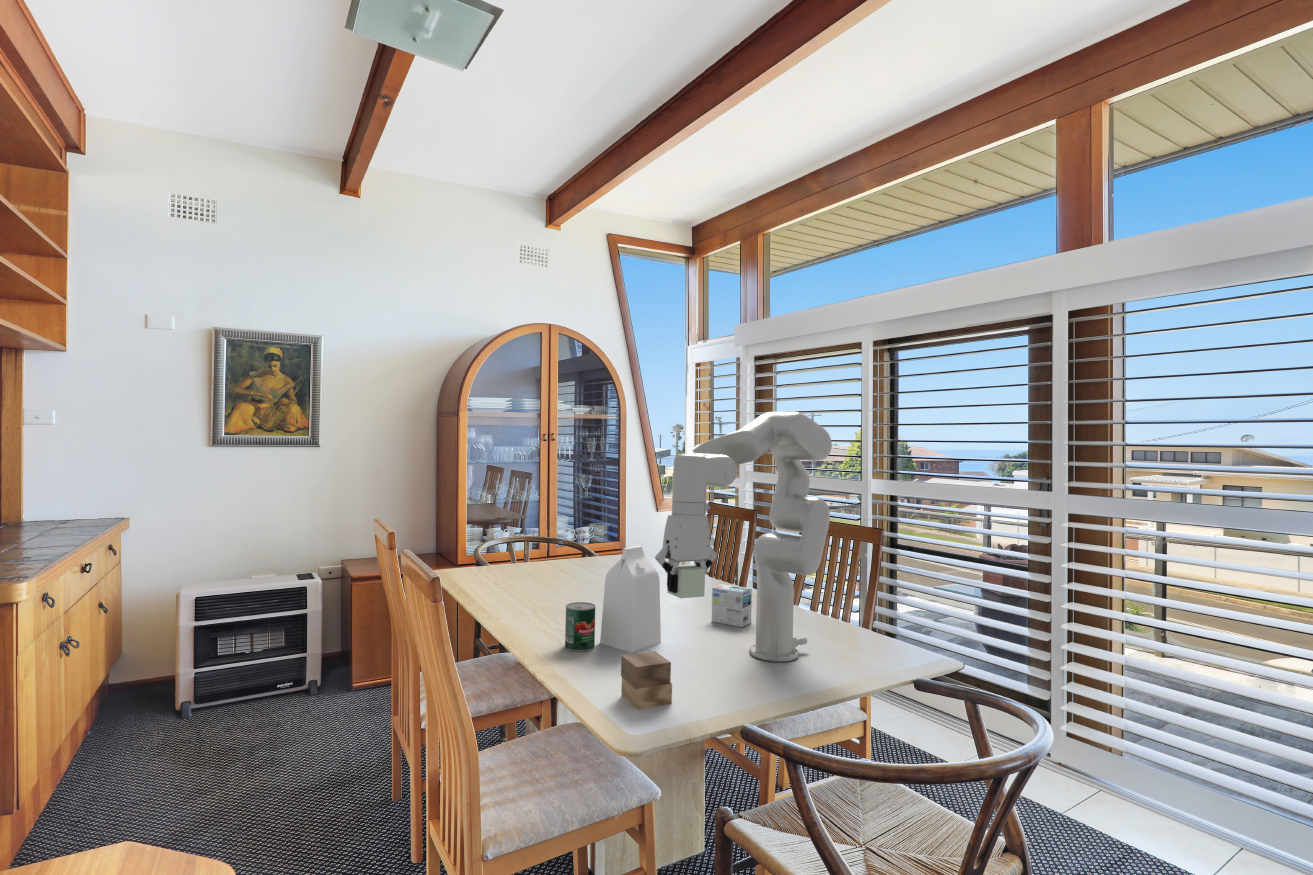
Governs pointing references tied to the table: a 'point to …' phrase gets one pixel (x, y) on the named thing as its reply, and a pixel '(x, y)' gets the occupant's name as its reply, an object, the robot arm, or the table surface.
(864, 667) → the table surface
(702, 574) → the sage cube
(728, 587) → the light bulb box
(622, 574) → the milk
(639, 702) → the oak slab
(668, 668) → the walnut slab
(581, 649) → the canned tomato
